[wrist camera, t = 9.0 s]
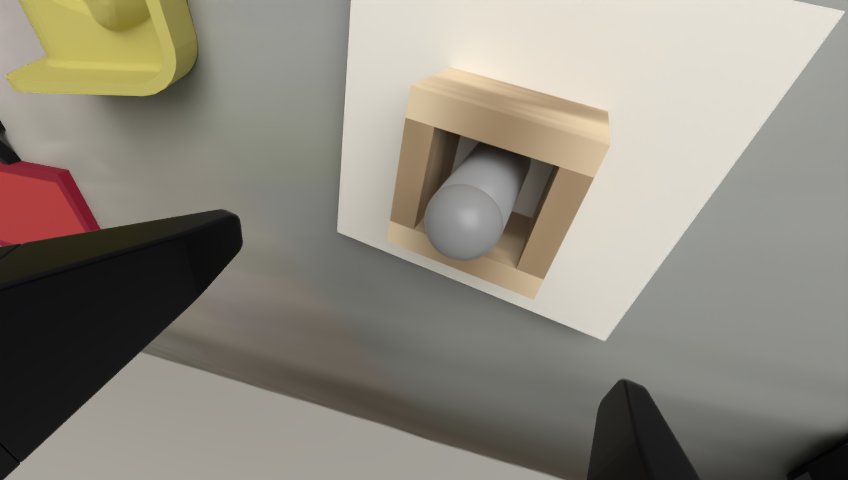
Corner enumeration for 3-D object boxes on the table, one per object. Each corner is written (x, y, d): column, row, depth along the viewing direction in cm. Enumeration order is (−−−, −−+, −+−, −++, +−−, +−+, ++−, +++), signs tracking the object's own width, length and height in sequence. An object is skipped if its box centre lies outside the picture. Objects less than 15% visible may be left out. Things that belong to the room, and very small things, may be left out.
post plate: (819, 10, 11) (1107, 23, 5) (604, 320, 20) (606, 477, 13) (376, -84, 14) (194, -153, 8) (350, 219, 23) (250, 307, 16)
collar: (608, 111, 13) (610, 145, 10) (546, 244, 17) (533, 299, 14) (451, 67, 15) (410, 85, 11) (423, 199, 18) (386, 241, 15)
